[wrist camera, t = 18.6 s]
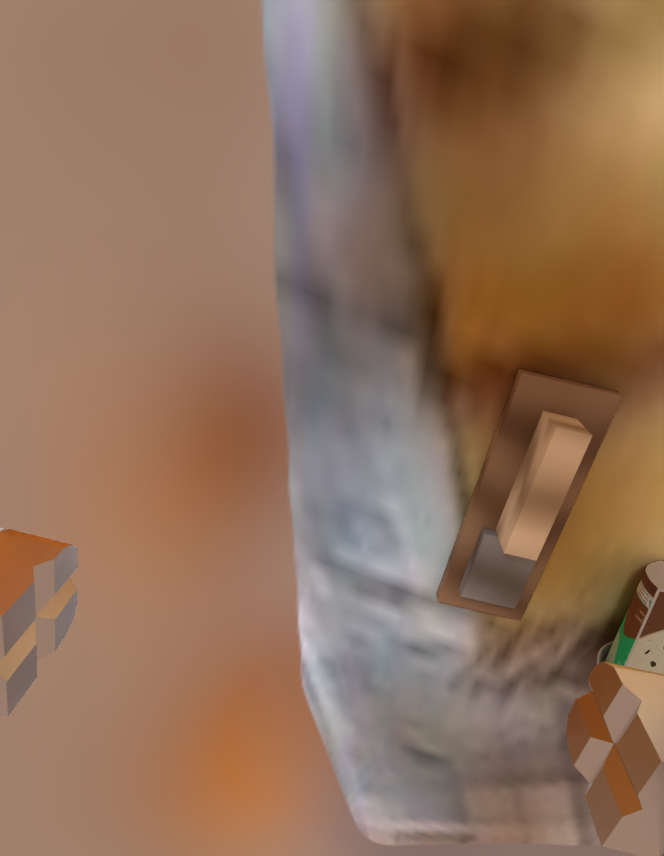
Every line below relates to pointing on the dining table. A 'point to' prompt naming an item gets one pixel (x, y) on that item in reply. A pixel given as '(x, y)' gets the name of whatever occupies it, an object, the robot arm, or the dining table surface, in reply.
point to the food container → (641, 626)
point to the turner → (526, 513)
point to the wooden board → (504, 464)
